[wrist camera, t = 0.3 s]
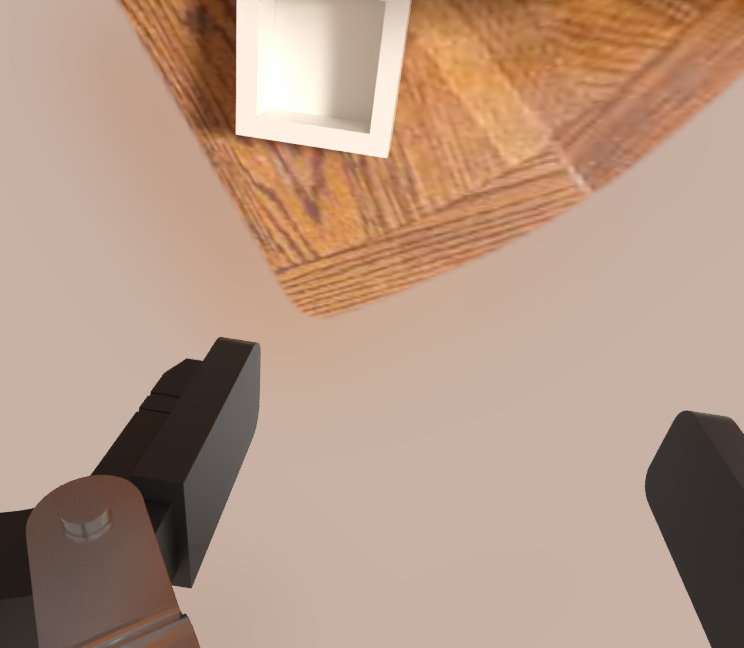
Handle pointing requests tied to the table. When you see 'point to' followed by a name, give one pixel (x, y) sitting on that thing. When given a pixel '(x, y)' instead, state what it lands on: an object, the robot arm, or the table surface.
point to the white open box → (320, 71)
